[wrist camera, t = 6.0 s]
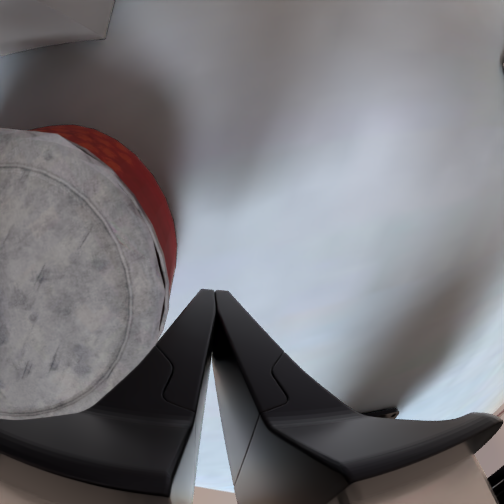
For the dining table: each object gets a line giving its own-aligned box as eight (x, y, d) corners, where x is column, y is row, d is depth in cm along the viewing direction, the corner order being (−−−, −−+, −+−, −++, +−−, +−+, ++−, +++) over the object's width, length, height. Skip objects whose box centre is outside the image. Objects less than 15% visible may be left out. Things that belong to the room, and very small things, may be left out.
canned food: (42, 145, 13) (-64, 50, 3) (210, 192, 14) (236, 64, 4) (-6, 338, 12) (-126, 383, 2) (149, 407, 13) (108, 558, 3)
